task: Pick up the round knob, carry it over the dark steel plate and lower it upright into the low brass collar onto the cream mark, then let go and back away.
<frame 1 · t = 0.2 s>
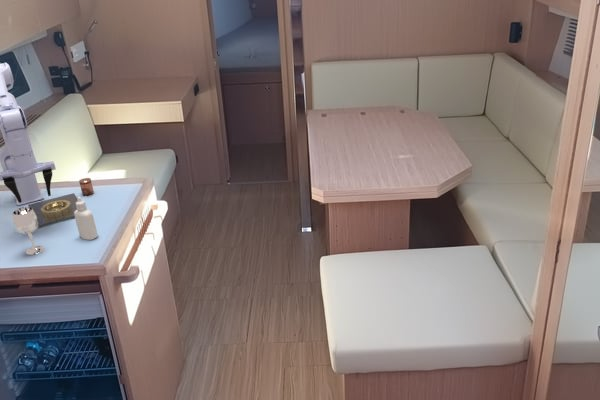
hand: (34, 198, 157), 10 cm above the table, fingers open, 7 cm apart
round knob: (88, 194, 183), on the table
eye dropper bottle: (89, 237, 156), on the table
collar plate: (56, 210, 172), on the table
wineglass: (35, 251, 150), on the table
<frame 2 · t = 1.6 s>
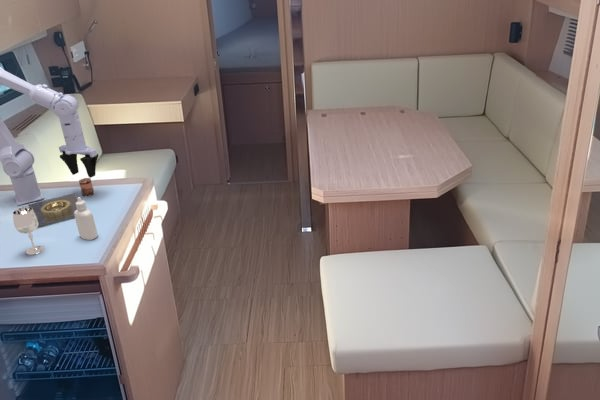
hand: (83, 174, 180), 7 cm above the table, fingers open, 7 cm apart
nothing on the table moved.
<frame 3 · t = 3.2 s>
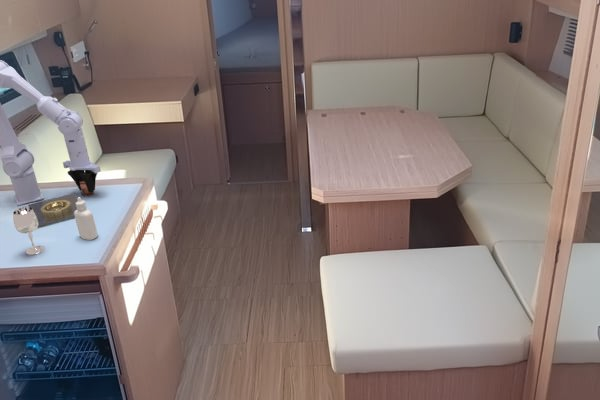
hand: (87, 190, 182), 1 cm above the table, fingers closed on round knob, 4 cm apart
round knob: (88, 194, 183), on the table, touching gripper
everything else where it was.
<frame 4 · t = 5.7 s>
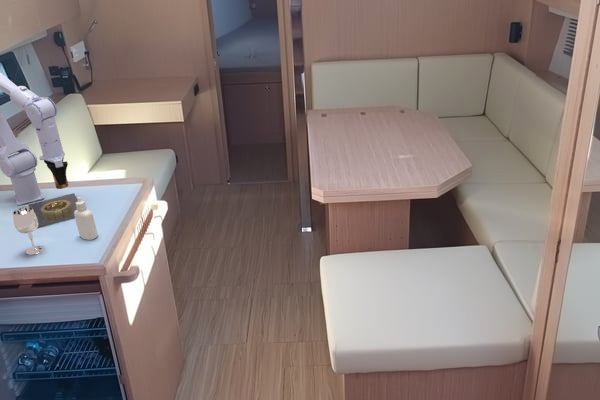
hand: (61, 182, 171), 8 cm above the table, fingers closed on round knob, 4 cm apart
round knob: (62, 186, 171), point 7 cm above the table, touching gripper
everything else where it was.
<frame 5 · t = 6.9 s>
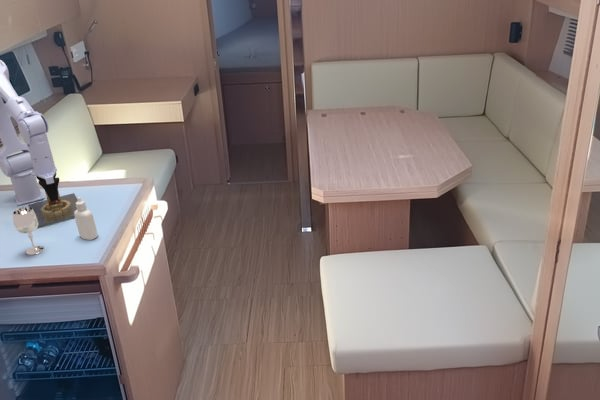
hand: (53, 198, 168), 5 cm above the table, fingers closed on round knob, 4 cm apart
round knob: (54, 202, 169), point 4 cm above the table, touching gripper
everything else where it was.
when the fingers open (3 cm above the table, at t = 8.1 s): round knob stays where it is, resting on collar plate.
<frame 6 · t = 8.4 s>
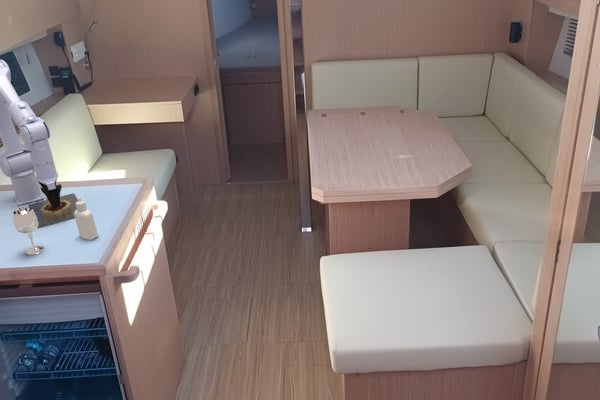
hand: (54, 203, 169), 3 cm above the table, fingers open, 6 cm apart
round knob: (57, 210, 170), point 1 cm above the table, touching collar plate
everything else where it was.
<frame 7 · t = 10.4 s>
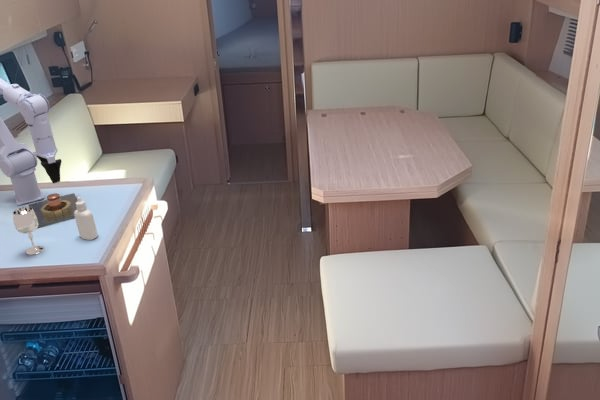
hand: (54, 178, 172), 9 cm above the table, fingers open, 7 cm apart
nothing on the table moved.
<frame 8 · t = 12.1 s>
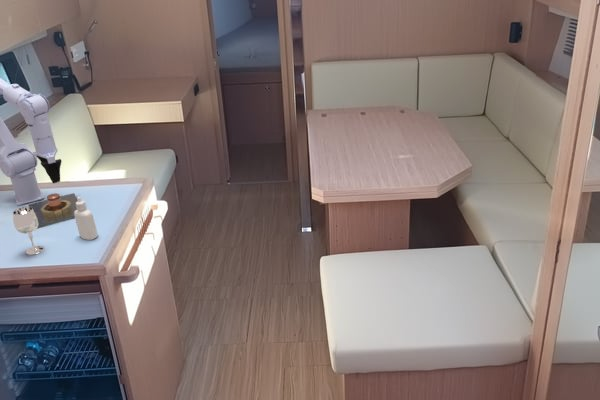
hand: (54, 178, 172), 9 cm above the table, fingers open, 7 cm apart
nothing on the table moved.
at the end: round knob 0.1 cm from the target spot on the collar plate, point 0.9 cm above the collar plate's base; round knob tilted 0°; the gripper is holding nothing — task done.
